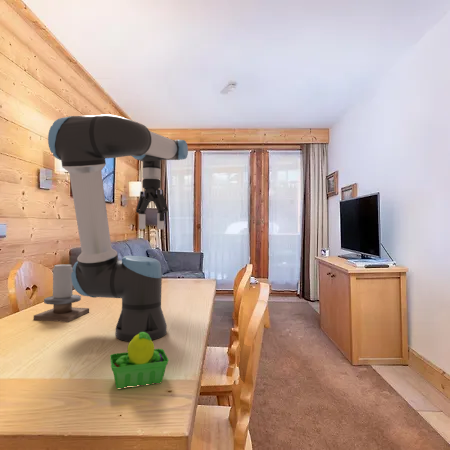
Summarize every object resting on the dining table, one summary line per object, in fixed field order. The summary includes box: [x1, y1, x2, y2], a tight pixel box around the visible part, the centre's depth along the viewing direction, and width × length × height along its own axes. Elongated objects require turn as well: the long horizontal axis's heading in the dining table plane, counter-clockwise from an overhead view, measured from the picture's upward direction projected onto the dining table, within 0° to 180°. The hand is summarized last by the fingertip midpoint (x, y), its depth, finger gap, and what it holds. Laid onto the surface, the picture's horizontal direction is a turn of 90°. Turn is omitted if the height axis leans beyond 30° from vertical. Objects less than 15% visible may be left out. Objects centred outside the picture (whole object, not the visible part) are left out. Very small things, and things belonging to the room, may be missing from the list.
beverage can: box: [52, 263, 73, 299], centre depth 120 cm, size 6×6×12 cm
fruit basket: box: [109, 332, 169, 389], centre depth 69 cm, size 11×9×11 cm
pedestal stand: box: [33, 294, 90, 323], centre depth 120 cm, size 13×13×6 cm
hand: (151, 229), depth 140 cm, fingers open, 13 cm apart
